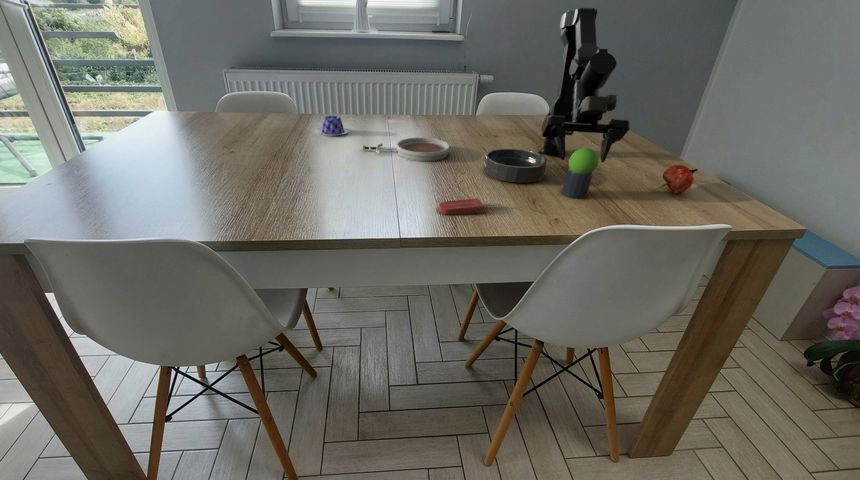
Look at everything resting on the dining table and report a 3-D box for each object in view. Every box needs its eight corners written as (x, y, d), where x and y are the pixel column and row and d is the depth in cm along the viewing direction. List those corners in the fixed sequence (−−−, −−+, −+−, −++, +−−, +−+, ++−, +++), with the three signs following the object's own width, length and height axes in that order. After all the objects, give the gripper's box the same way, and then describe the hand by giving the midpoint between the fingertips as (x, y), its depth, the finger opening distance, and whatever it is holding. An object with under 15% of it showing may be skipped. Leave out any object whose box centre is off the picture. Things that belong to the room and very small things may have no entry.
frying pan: (364, 135, 134) (449, 137, 132) (364, 144, 136) (448, 146, 134) (356, 151, 120) (452, 153, 118) (357, 161, 122) (451, 163, 120)
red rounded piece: (660, 205, 102) (707, 187, 97) (649, 179, 101) (696, 159, 96) (656, 198, 108) (700, 180, 103) (645, 173, 107) (689, 154, 102)
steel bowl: (498, 160, 123) (500, 145, 120) (551, 172, 115) (555, 156, 112) (473, 174, 112) (475, 158, 110) (529, 189, 104) (533, 172, 102)
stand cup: (565, 187, 105) (572, 165, 102) (589, 193, 103) (596, 170, 99) (558, 194, 102) (564, 171, 98) (582, 200, 99) (589, 176, 95)
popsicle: (506, 204, 92) (442, 209, 89) (504, 211, 93) (441, 216, 90) (498, 196, 95) (436, 201, 93) (496, 203, 96) (435, 208, 94)
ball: (570, 168, 103) (577, 143, 99) (596, 174, 100) (605, 148, 96) (562, 175, 99) (569, 149, 95) (589, 181, 96) (597, 154, 92)
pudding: (348, 137, 140) (347, 121, 137) (313, 136, 140) (312, 121, 137) (351, 128, 150) (350, 113, 147) (318, 127, 150) (317, 112, 147)
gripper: (556, 78, 94) (552, 140, 91) (642, 82, 91) (641, 145, 89) (543, 107, 105) (539, 163, 102) (619, 111, 102) (618, 169, 100)
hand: (583, 160), depth 98 cm, fingers open, 9 cm apart
